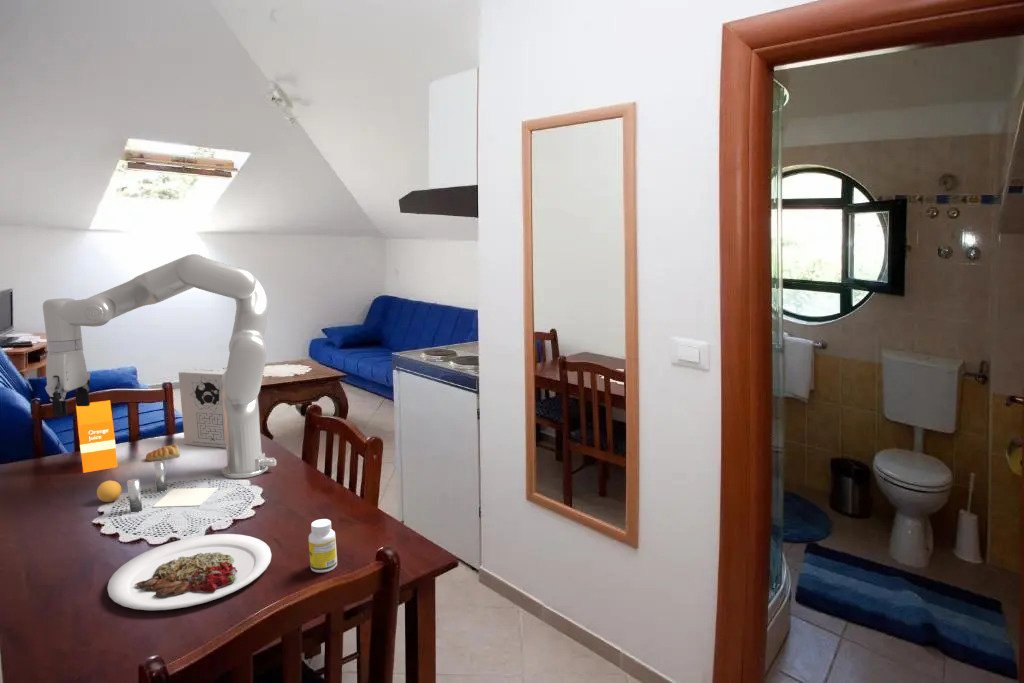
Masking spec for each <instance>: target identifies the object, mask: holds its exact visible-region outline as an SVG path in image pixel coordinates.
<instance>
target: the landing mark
mask: <svg viewBox="0 0 1024 683" xmlns="http://www.w3.org/2000/svg"><path fill="white" fill-rule="evenodd" d="M218 489H219V487H194V488H193V487H191V488H172V489H171V490H170V491H169V492H167V493H166V494H165V495H164V496H163V497H162V498H161V499H160V500H158V501H157V502H156V503H154V505H152V506H151V508H178V507H185V508H187V507H201V506H202V505H203V504H204V503H205V502H206V501H207V500H208V499H209V498H210V497H211V496H212V495H213V494H214V493H215V492H216V491H218ZM204 501H205V502H204ZM203 502H204V503H203ZM202 503H203V504H202ZM201 504H202V505H201ZM200 505H201V506H200Z"/></svg>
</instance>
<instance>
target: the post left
mask: <svg viewBox="0 0 1024 683" xmlns="http://www.w3.org/2000/svg"><path fill="white" fill-rule="evenodd" d="M126 483H127V490H128V491H127V493H128V500H129V501H128V502H129V511H131V512H137V513H139V511H140V512H142V511H143V503H142V495H141V483H140V479H139V478H132V479H129V480H127V482H126ZM131 512H130V513H131Z"/></svg>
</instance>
